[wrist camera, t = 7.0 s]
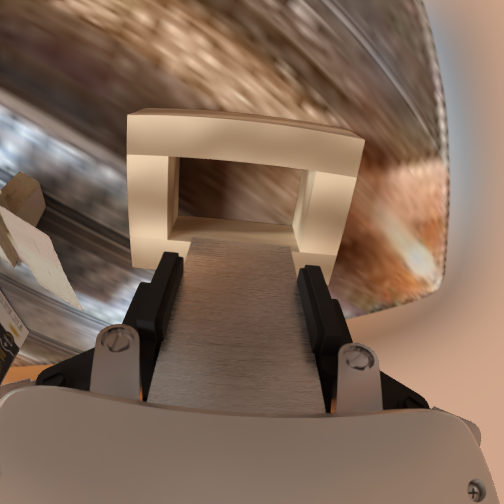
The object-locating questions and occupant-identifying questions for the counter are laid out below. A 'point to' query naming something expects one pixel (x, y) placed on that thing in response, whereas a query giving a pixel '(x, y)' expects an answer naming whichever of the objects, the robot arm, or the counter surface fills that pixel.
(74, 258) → the counter surface
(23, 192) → the beige double panel block
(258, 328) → the wood grain block
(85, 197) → the counter surface
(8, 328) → the tea box
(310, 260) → the well block
